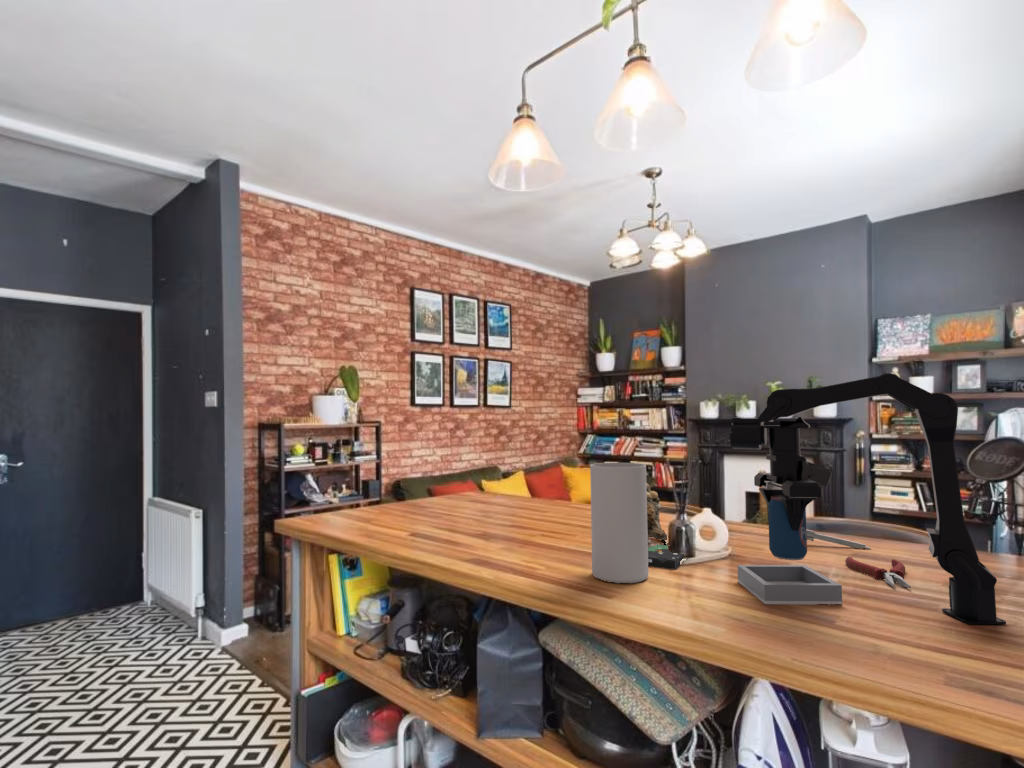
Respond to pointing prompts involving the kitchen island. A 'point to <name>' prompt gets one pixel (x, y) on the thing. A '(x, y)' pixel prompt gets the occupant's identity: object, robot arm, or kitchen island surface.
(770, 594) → the tray
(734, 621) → the kitchen island surface
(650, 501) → the owl figurine
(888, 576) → the pliers
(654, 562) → the disk drive
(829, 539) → the caliper
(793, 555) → the soda can
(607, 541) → the cylinder vase
